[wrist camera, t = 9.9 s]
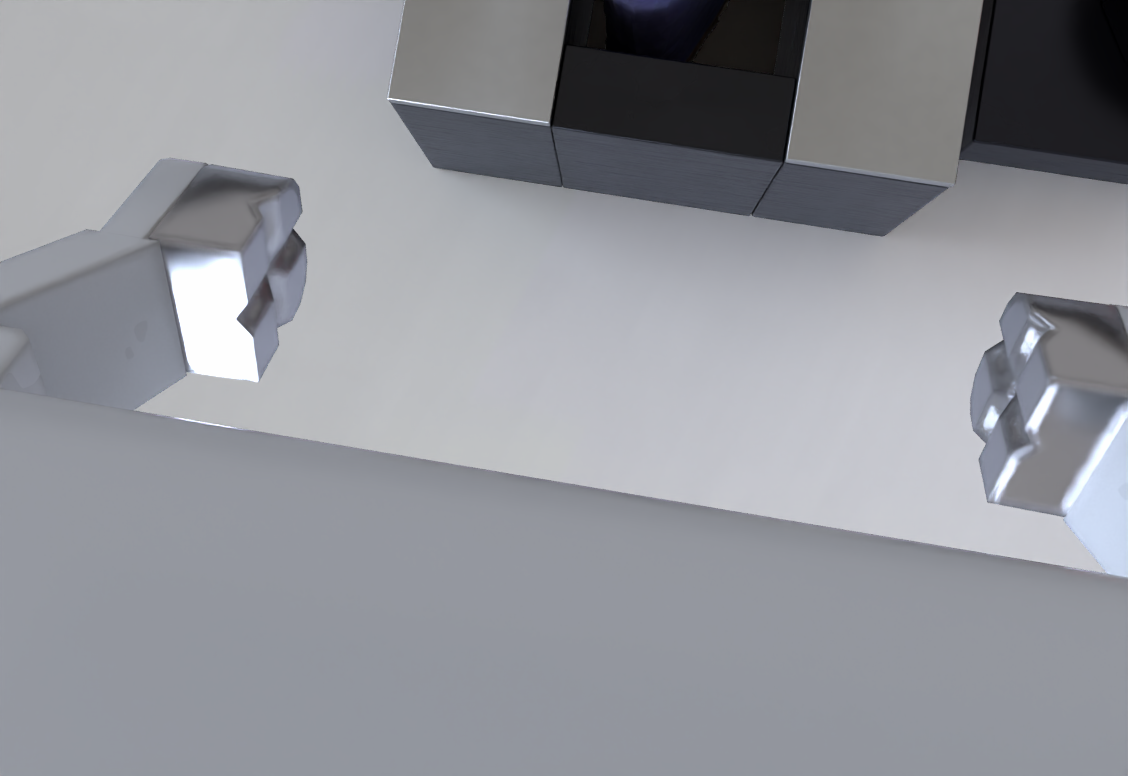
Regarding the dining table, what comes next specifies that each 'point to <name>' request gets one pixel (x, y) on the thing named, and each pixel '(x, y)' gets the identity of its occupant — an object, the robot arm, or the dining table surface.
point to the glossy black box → (699, 108)
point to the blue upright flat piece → (661, 26)
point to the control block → (1051, 88)
